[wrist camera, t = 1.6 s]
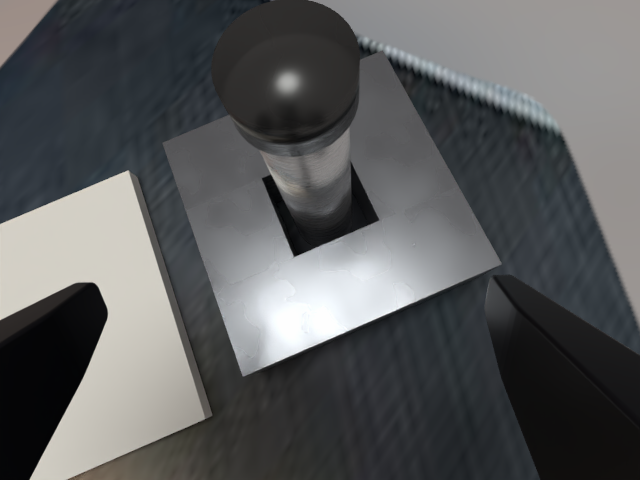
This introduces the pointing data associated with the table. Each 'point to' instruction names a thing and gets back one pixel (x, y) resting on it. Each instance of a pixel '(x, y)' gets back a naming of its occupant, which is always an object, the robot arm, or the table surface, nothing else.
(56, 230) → the pad
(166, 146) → the grey square frame block
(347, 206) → the black knobbed metal rod
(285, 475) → the table surface
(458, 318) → the table surface
